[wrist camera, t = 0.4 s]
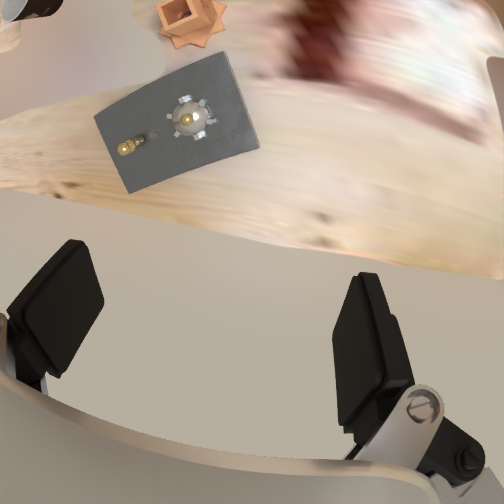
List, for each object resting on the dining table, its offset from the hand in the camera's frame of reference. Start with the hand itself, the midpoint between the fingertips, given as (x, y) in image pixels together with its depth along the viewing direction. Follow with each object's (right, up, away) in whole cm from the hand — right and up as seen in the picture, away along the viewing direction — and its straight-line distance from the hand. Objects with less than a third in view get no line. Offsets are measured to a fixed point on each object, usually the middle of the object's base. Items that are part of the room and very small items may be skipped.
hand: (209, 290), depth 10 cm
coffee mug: (-33, +46, +16) cm, 59 cm away
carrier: (-11, +20, +30) cm, 38 cm away
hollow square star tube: (-7, +34, +20) cm, 40 cm away
